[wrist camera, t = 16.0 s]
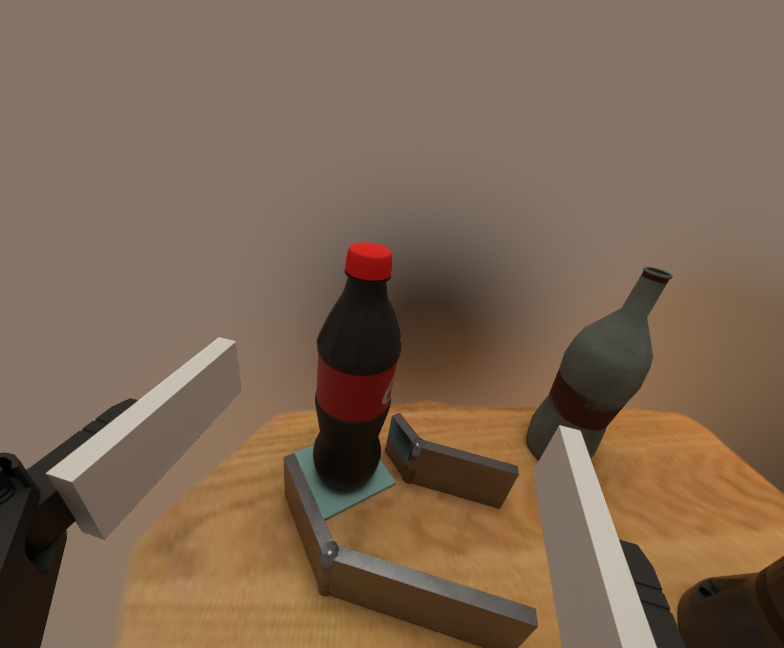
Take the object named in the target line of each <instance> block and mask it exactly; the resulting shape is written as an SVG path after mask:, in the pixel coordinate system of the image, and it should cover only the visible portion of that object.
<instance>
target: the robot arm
mask: <svg viewBox="0 0 784 648" xmlns="http://www.w3.org/2000/svg"><path fill="white" fill-rule="evenodd" d="M241 391H242V390H241V381H240V373H239V364H238V356H237V347H236V342H235V341H232V340H228V339H224V338H220V337H219V338H217V340H215V341H214V342H213V343H211V344H210V345H209V346H207V347H206V348H205V349H203V350H202V351H201V352H200V353H198V354H197V355H196V356H195V357H193V358H192V359H191V360H189V361H188V362H187V363H186V364H184V365H183V366H182V367H181V368H180V369H178V370H177V371H175V372H174V373H173V374H172V375H170V376H169V377H168V378H167V379H165V380H164V381H163V382H162V383H160V384H159V385H158V386H156V387H155V388H154V389H152V390H151V391H150V392H149V393H147V394H146V395H145V396H144V397H142V398H141V399H140V400H135V399H131V398H130V399H128V400H126V401H123V402H121V403H119V404H117V405H115V406H113V407H111V408H110V409H108V410H107V411H105V412H104V413H103V414H101V415H100V416H99V417H97V418H96V420H95V421H92V422H91V423H89V424H88V425H87V426H85V427H84V428H83V430H82V431H79V432H77V433H76V434H74V435H73V436H72V437H70V438H69V439H68V440H66V441H65V442H64V443H62V444H61V445H60V446H58V447H57V448H56V449H54V450H53V451H52V452H50V453H49V454H48V455H46V456H45V457H44V458H42V459H41V460H40V461H38V462H37V463H36V464H34V465H33V466H32V467H30V468H29V469H27V470H26V469H25V468H24V466H23V465H22V463H21V462H20V460H19V459H18V458H17V457H16V456H15V455H14V454H9V453H0V648H40V646H41V642H42V638H43V634H44V630H45V626H46V622H47V618H48V613H49V610H50V606H51V602H52V597H53V593H54V589H55V585H56V581H57V577H58V573H59V569H60V564H61V561H62V557H63V552H64V548H65V544H66V540H67V531H66V529H67V528H68V527H69V526H70V525H72V524H73V523H74V522H75V521H76V523H77V524H78V526H79V528H80V529H81V531H82V532H84V533H86V534H89V535H92V536H95V537H98V538H101V539H104V540H105V539H106V538H107V537H108V536H109V535H110V534H111V533H112V532H113V531H114V529H115V528H116V527H117V526H118V525H119V524H120V523H121V522H122V521H123V520H124V519H125V518H126V516H127V515H128V514H129V513H130V512H131V511H132V510H133V509H134V508H135V506H137V504H138V503H139V502H140V501H141V500H142V499H143V498H144V497H145V496H146V495H147V494H148V492H149V491H150V490H151V489H152V488H153V487H154V486H155V485H156V484H157V483H158V481H159V480H160V479H161V478H162V477H163V476H164V475H165V474H166V473H167V472H168V471H169V470H170V469H171V467H172V466H173V465H174V464H175V463H176V462H177V461H178V460H179V459H180V458H181V457H182V455H183V454H184V453H185V452H186V451H187V450H188V449H189V448H190V447H191V446H192V445H193V443H194V442H195V441H196V440H197V439H198V438H199V437H200V436H201V435H202V434H203V433H204V431H205V430H206V429H207V428H208V427H209V426H210V425H211V424H212V423H213V422H214V421H215V419H216V418H217V417H218V416H219V415H220V414H221V413H222V412H223V411H224V410H225V409H226V408H227V406H228V405H229V404H230V403H231V402H232V401H233V400H234V399H235V398H236V397H237V396H238V394H239V393H240V392H241ZM533 476H534V482H535V488H536V494H537V500H538V506H539V512H540V518H541V524H542V530H543V536H544V542H545V548H546V554H547V560H548V566H549V572H550V578H551V584H552V590H553V596H554V602H555V608H556V614H557V620H558V626H559V632H560V638H561V644H562V648H784V556H783V557H781V558H780V559H778V560H777V561H775V562H774V563H772V564H771V565H769V566H768V567H766V568H765V569H763V570H762V571H760V572H759V573H749V574H740V575H730V576H720V577H711V578H707V579H704V580H702V581H700V582H698V583H697V584H695V585H694V586H693V587H691V588H690V589H689V590H687V591H686V592H685V593H684V595H683V596H682V598H681V600H680V603H679V608H678V621H679V627H680V632H681V634H680V632H679V629H678V627H677V624H676V622H675V619H674V617H673V614H672V613H670V607H669V605H668V602H667V600H666V597H665V595H664V594H663V593H662V587H661V585H660V583H659V580H658V578H657V575H656V573H655V570H654V568H653V566H652V565H651V563H650V562H649V560H648V559H647V558H646V556H645V555H644V553H643V552H642V551H641V549H640V548H639V546H638V545H636V544H633V543H629V542H626V541H622V540H619V539H618V536H617V533H616V530H615V527H614V525H613V522H612V519H611V516H610V513H609V510H608V507H607V505H606V502H605V499H604V496H603V493H602V490H601V488H600V485H599V482H598V479H597V476H596V473H595V470H594V468H593V465H592V462H591V459H590V456H589V453H588V451H587V448H586V445H585V442H584V439H583V436H582V434H581V431H580V430H576V429H572V428H568V427H564V426H560V425H559V427H558V428H557V430H556V432H555V434H554V435H553V437H552V439H551V441H550V442H549V444H548V446H547V448H546V449H545V451H544V453H543V455H542V456H541V458H540V460H539V462H538V463H537V465H536V467H535V469H534V470H533Z"/></svg>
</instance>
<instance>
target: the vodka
mask: <svg viewBox="0 0 784 648" xmlns="http://www.w3.org/2000/svg"><path fill="white" fill-rule="evenodd" d="M671 278H672V275H671V274H670V273H669V272H667V271H664V270H660V269H658V268H653V267H645V268H644V269H643V273H642V275H641V276H640V278H639V280H638V281H637V283H636V285H635V286H634V288H633V290H632V291H631V293H630V295H629V297H628V298H627V300H626V302H625V303H624V305H623V307H622V308H621V309H619V310H617V311H615V312H613V313H611V314H609V315H607V316H606V317H604V318H602V319H600V320H598V321H596V322H594V323H592V324H590V325H588V326H586V327H585V328H584V329H583V330H582V331H581V332H580V333H579V334H578V335H577V336H576V337H575V338H574V339H573V341H572V343H571V344H570V345H569V347H568V348H567V350H566V351H565V353H564V356H563V359H562V362H561V365H560V368H559V370H558V373H557V375H556V378H555V380H554V383H553V385H552V388H551V390H550V393H549V395H548V396H547V398H546V399H545V400H544V401H543V403H542V404H541V405H540V406H539V408H538V409H537V410H536V412H535V413H534V415H533V416H532V419H531V422H530V425H529V428H528V435H527V443H528V447H529V449H530V450H531V452H532V454H533V455H534V456H535V457H536V458H537V459H538V460H540V458H541V456H542V455H543V453H544V451H545V449H546V448H547V446H548V444H549V442H550V441H551V439H552V437H553V435H554V434H555V432H556V430H557V428H558V427H559V425H560V426H564V427H568V428H572V429H576V430H580V431H581V434H582V436H583V439H584V442H585V445H586V448H587V451H588V453H589V456H590V459H591V458H592V457H593V456H594V454H595V452H596V450H597V448H598V446H599V444H600V442H601V440H602V437H603V435H604V433H605V430H606V428H607V426H608V425H609V423H610V422H611V421H612V420H613V419H614V417H615V416H616V415H617V414H618V413H619V412H620V410H621V409H622V408H623V407H624V406H625V404H626V403H627V402H628V401H629V400H630V399H631V398H632V397H633V396H634V395H635V394H636V393H637V391H638V390H639V389H640V388H641V386H642V384H643V382H644V380H645V378H646V376H647V374H648V372H649V369H650V367H651V363H652V359H653V353H652V347H651V340H650V334H649V328H648V321H647V317H648V315H649V313H650V312H651V310H652V308H653V306H654V305H655V303H656V301H657V299H658V298H659V296H660V295H661V293H662V291H663V289H664V288H665V286H666V284H667V283H668V281H669V279H671Z"/></svg>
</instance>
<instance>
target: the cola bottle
mask: <svg viewBox="0 0 784 648" xmlns="http://www.w3.org/2000/svg"><path fill="white" fill-rule="evenodd" d="M391 270H392V252H391V251H390V250H389V249H388V248H386V247H384V246H382V245H379V244H375V243H366V242H364V243H363V242H362V243H356V244H353V245H351V246H350V247H349V249H348V253H347V258H346V265H345V274H346V275H347V276H348V279H347V282H346V285H345V288H344V291H343V293H342V295H341V296H340V297H339V299H338V301H337V302H336V304H335V305H334V307H333V309H332V310H331V312H330V313H329V315H328V317H327V319H326V321H325V323H324V325H323V327H322V329H321V331H320V333H319V336H318V338H317V349H318V373H317V391H316V395H315V405H316V411H317V417H318V422H319V428H320V433H319V434H318V436H317V438H316V441H315V443H314V448H313V461H314V466H315V469H316V471H317V474H318V475H319V477H320V478H321V480H322V481H323V482H324V483H325V484H326V485H328V486H329V487H331V488H334V489H337V490H342V491H348V490H354V489H357V488H359V487H361V486H363V485H364V484H365V483H367V482H368V481H369V480H370V478H371V477H372V476H373V474H374V473H375V471H376V469H377V467H378V465H379V461H380V457H381V446H380V441H379V437H378V436H379V433H380V431H381V429H382V426H383V424H384V421H385V419H386V417H387V414H388V412H389V408H390V404H391V392H392V387H393V382H394V377H395V372H396V366H397V361H398V359H399V357H400V352H401V341H400V337H401V335H400V330H399V326H398V322H397V319H396V316H395V313H394V310H393V308H392V305H391V303H390V302H389V300H388V297H387V286H386V282H387V281H388V280H390V278H391Z"/></svg>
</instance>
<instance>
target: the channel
mask: <svg viewBox="0 0 784 648" xmlns="http://www.w3.org/2000/svg"><path fill="white" fill-rule="evenodd" d="M385 451H386V453H387V454H388V456H389V457H390V459H391V460H392V462H393V463H394V464H395V466H396V467H397V469H398V470H399V472H400V473H401V475H402V476H403V480H404V481H405V482H406V483H409V484H410V483H413V484H417V485H420V486H424V487H427V488H431V489H434V490H437V491H441V492H444V493H448V494H451V495H455V496H458V497H462V498H465V499H468V500H472V501H475V502H479V503H482V504H486V505H489V506H492V507H496V508H499V509H500V508H501V506H502V504H503V503H504V501H505V499H506V497H507V495H508V493H509V492H510V490H511V488H512V486H513V484H514V482H515V481H516V479H517V477H518V475H519V473H518V466H516V465H512V464H508V463H505V462H501V461H497V460H494V459H490V458H487V457H483V456H479V455H476V454H472V453H468V452H465V451H461V450H458V449H454V448H450V447H447V446H443V445H439V444H436V443H432V442H428V441H425V440H423V439H421V438H419V436H418V435H417V434H416V433H415V431H414V430H413V429H412V428H411V426H410V425H409V424H408V423H407V421H406V420H405V419H404V418H403V416H402V415H401V414H400V413H398V414H395V415H393V416H392V419H391V424H390V429H389V434H388V439H387V443H386V448H385ZM284 481H285V496H286V499H287V502H288V504H289V507H290V510H291V512H292V515H293V518H294V520H295V523H296V526H297V528H298V531H299V534H300V536H301V539H302V542H303V544H304V547H305V550H306V552H307V555H308V558H309V560H310V563H311V566H312V569H313V571H314V574H315V577H316V579H317V582H318V591H319V593H320V594H321V595H322V596H328V595H330V596H333V597H336V598H339V599H342V600H345V601H348V602H351V603H354V604H357V605H360V606H363V607H366V608H369V609H372V610H374V611H377V612H380V613H383V614H386V615H389V616H392V617H395V618H398V619H401V620H404V621H407V622H410V623H413V624H416V625H419V626H422V627H425V628H428V629H431V630H434V631H437V632H440V633H443V634H445V635H448V636H451V637H454V638H457V639H460V640H463V641H466V642H469V643H472V644H475V645H478V646H481V647H484V648H518V647H519V646H520V645H521V644H522V643H523V642H524V641H525V640H526V639H527V638H528V637H529V636H530V634H531V633H532V632H533V631H534V630H535V629H536V628H537V627H538V622H537V615H536V609H535V608H532V607H529V606H526V605H523V604H520V603H517V602H513V601H510V600H507V599H504V598H501V597H498V596H495V595H492V594H488V593H485V592H482V591H479V590H476V589H473V588H470V587H467V586H463V585H460V584H457V583H454V582H451V581H448V580H445V579H442V578H438V577H435V576H432V575H429V574H426V573H423V572H420V571H417V570H413V569H410V568H407V567H404V566H401V565H398V564H395V563H392V562H388V561H385V560H382V559H379V558H376V557H373V556H370V555H367V554H363V553H360V552H357V551H354V550H351V549H348V548H345V547H342V546H338V545H337V543H335V542H334V541H333V539H332V537H331V534H330V532H329V530H328V528H327V525H326V523H325V521H324V519H323V516H322V514H321V512H320V510H319V507H318V505H317V503H316V500H315V498H314V496H313V494H312V491H311V489H310V487H309V485H308V482H307V480H306V478H305V476H304V473H303V471H302V469H301V466H300V464H299V462H298V460H297V457H296V455H295V453H293V454H291V455H288V456H286V457H284Z"/></svg>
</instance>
